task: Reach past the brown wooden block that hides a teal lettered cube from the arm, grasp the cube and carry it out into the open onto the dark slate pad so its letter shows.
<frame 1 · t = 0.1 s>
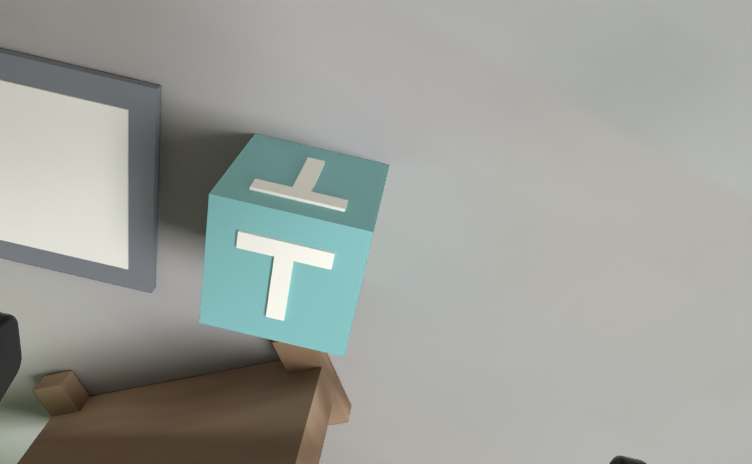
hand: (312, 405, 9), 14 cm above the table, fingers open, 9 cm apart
letter cube: (312, 207, 24), on the table
brown wooden block: (194, 390, 30), on the table
pad: (45, 169, 25), on the table
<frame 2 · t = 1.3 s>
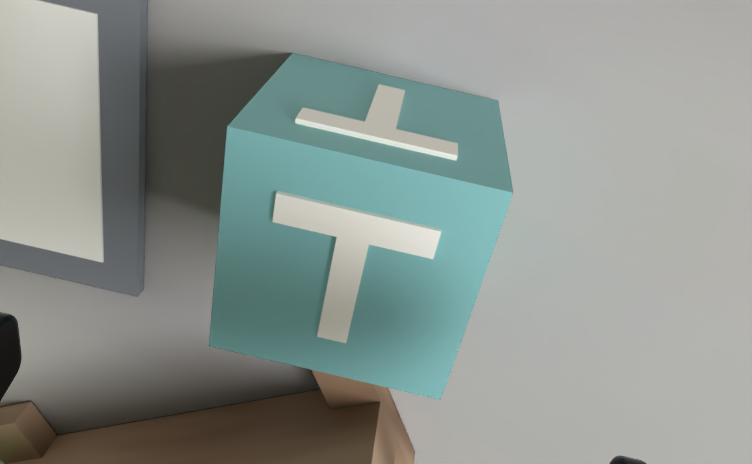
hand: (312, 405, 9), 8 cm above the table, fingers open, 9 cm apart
letter cube: (375, 169, 16), on the table
brown wooden block: (198, 429, 22), on the table
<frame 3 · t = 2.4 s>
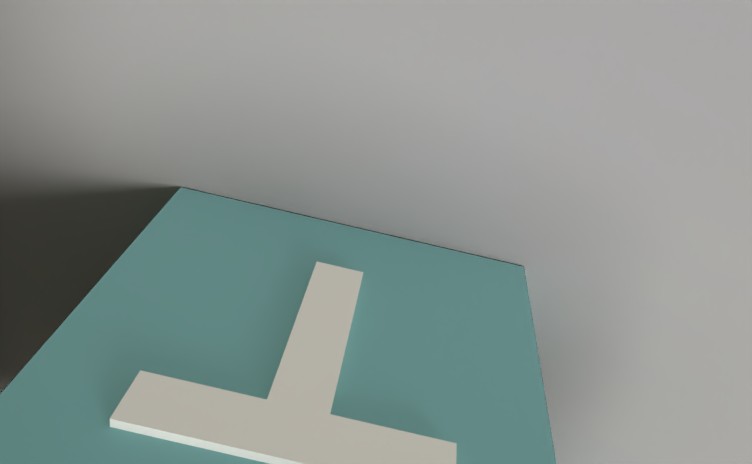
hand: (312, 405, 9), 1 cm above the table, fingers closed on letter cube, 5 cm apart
letter cube: (324, 357, 10), on the table, touching gripper
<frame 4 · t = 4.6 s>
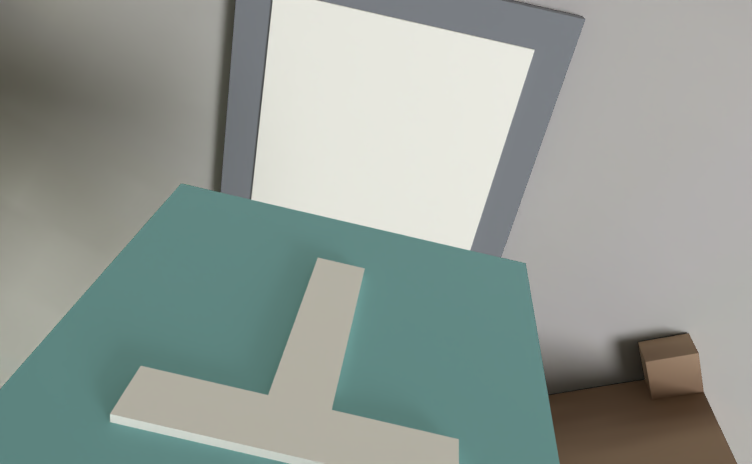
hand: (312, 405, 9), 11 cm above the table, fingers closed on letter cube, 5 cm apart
letter cube: (325, 354, 10), point 10 cm above the table, touching gripper
brown wooden block: (497, 419, 24), on the table
pad: (380, 136, 19), on the table
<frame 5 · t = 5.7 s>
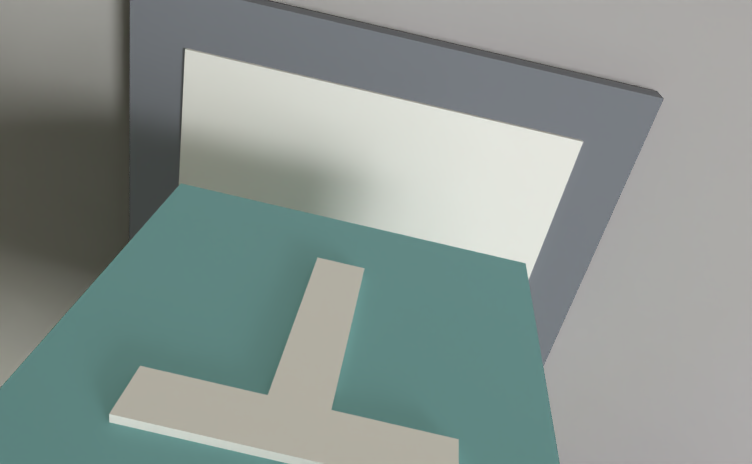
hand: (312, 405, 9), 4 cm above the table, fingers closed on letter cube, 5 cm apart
letter cube: (325, 354, 10), point 3 cm above the table, touching gripper
pad: (352, 250, 13), on the table
when the fingers open (2 cm above the table, at t = 6.5 s): letter cube stays where it is, resting on pad.
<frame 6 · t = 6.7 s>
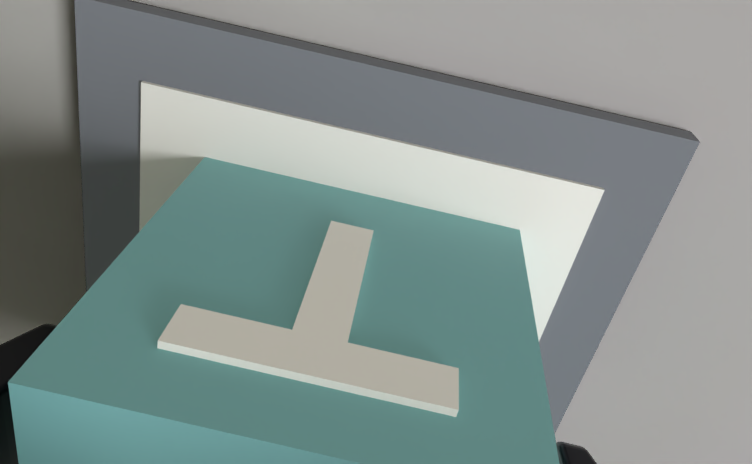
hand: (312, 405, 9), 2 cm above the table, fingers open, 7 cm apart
letter cube: (335, 318, 11), resting on pad
pad: (338, 303, 12), on the table
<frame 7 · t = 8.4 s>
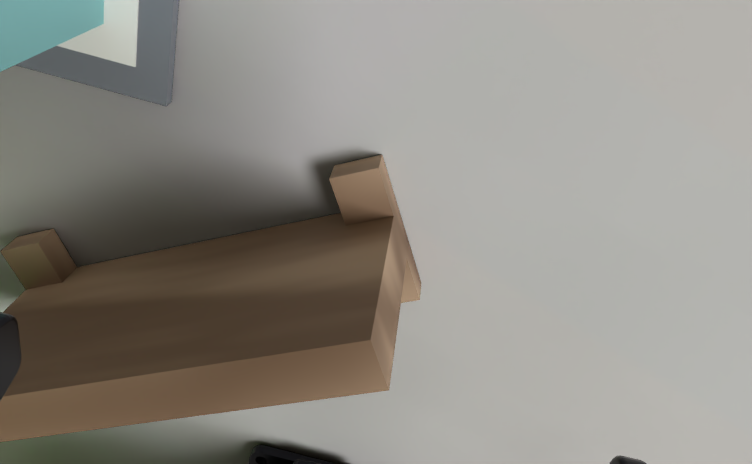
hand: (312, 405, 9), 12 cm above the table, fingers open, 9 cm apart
brown wooden block: (214, 259, 23), on the table
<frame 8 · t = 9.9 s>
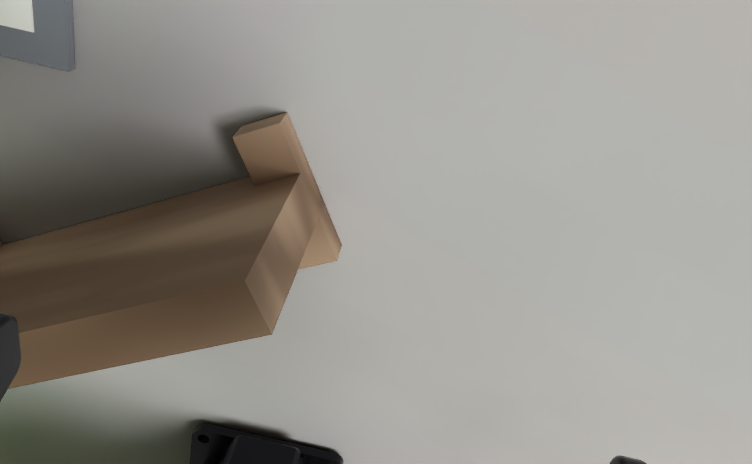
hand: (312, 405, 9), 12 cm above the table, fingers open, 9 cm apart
brown wooden block: (136, 230, 23), on the table
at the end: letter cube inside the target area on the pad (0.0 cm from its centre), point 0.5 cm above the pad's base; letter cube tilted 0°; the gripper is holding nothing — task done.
